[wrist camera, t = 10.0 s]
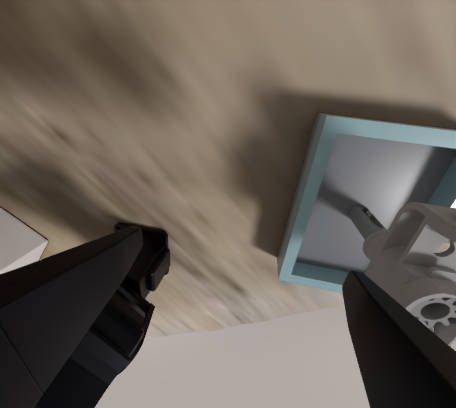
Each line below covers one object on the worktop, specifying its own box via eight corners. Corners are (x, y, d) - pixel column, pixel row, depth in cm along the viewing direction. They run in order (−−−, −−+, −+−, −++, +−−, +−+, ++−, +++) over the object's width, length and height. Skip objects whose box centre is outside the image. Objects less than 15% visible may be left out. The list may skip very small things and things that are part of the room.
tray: (277, 258, 24) (278, 279, 21) (317, 112, 17) (327, 115, 14) (382, 279, 22) (398, 305, 20) (472, 131, 16) (516, 138, 13)
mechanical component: (405, 158, 16) (572, 230, 7) (354, 261, 21) (417, 382, 12) (363, 152, 16) (474, 215, 7) (322, 255, 21) (361, 369, 12)
